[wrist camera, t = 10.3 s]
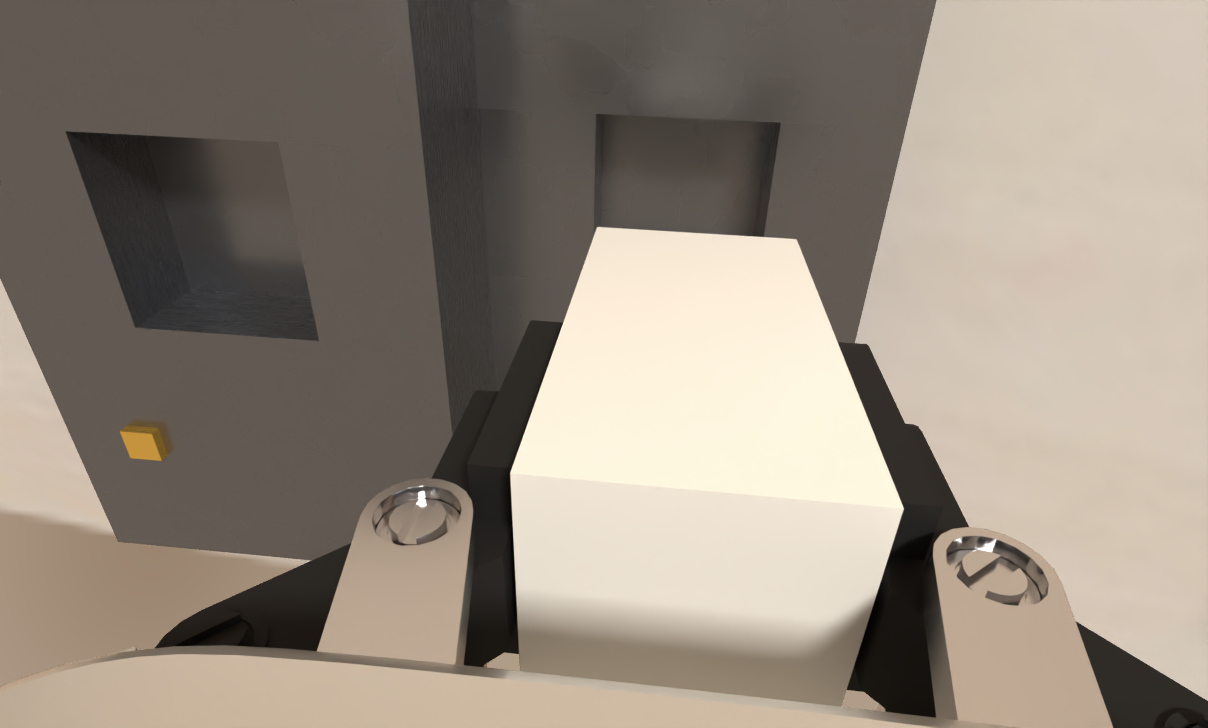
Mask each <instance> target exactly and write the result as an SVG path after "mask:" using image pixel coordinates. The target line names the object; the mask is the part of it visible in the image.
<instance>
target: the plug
mask: <svg viewBox="0 0 1208 728" xmlns="http://www.w3.org/2000/svg"><path fill="white" fill-rule="evenodd" d="M510 480H511V500H512V520H513V540H514V560H515V580H516V600H517V620H518V640H519V659H520V671H522V672H532V673H541V674H550V675H560V676H569V677H579V678H588V679H598V680H607V681H616V682H625V683H634V684H643V685H652V686H661V687H670V688H679V689H688V690H697V691H706V692H715V693H724V694H733V695H742V696H751V697H760V698H769V699H778V700H787V701H795V702H804V703H813V704H822V705H831V706H840V707H841V705H842V702H843V699H844V696H845V693H846V690H847V687H848V684H849V680H850V677H851V674H852V671H853V668H854V665H855V661H856V658H857V655H858V652H859V649H860V646H861V642H862V639H863V636H864V633H865V630H866V627H867V623H868V620H869V617H870V614H871V611H872V608H873V605H874V601H875V598H876V595H877V592H878V589H879V586H880V582H881V579H882V576H883V573H884V570H885V567H886V563H887V560H888V557H889V554H890V551H891V548H892V544H893V541H894V538H895V535H896V532H897V529H898V526H899V522H900V519H901V516H902V513H903V510H904V508H903V505H902V503H901V500H900V498H899V495H898V493H897V490H896V488H895V485H894V483H893V480H892V478H891V475H890V473H889V470H888V468H887V465H886V463H885V460H884V458H883V455H882V453H881V450H880V447H879V445H878V442H877V440H876V437H875V435H874V432H873V430H872V427H871V425H870V422H869V420H868V417H867V415H866V412H865V410H864V407H863V405H862V402H861V400H860V397H859V395H858V392H857V390H856V387H855V385H854V382H853V380H852V377H851V375H850V372H849V370H848V367H847V365H846V362H845V360H844V357H843V355H842V352H841V350H840V347H839V345H838V342H837V340H836V337H835V335H834V332H833V330H832V327H831V324H830V322H829V319H828V317H827V314H826V312H825V309H824V307H823V304H822V302H821V299H820V297H819V294H818V292H817V289H816V287H815V284H814V282H813V279H812V277H811V274H810V272H809V269H808V267H807V264H806V262H805V259H804V257H803V254H802V252H801V249H800V247H799V244H798V242H797V239H786V238H770V237H754V236H737V235H721V234H704V233H688V232H672V231H655V230H639V229H623V228H606V227H597V229H596V232H595V235H594V237H593V240H592V243H591V246H590V249H589V252H588V254H587V257H586V260H585V263H584V266H583V269H582V271H581V274H580V277H579V280H578V283H577V285H576V288H575V291H574V294H573V297H572V300H571V302H570V305H569V308H568V311H567V314H566V317H565V319H564V322H563V325H562V328H561V331H560V334H559V336H558V339H557V342H556V345H555V348H554V351H553V353H552V356H551V359H550V362H549V365H548V368H547V370H546V373H545V376H544V379H543V382H542V385H541V387H540V390H539V393H538V396H537V399H536V402H535V404H534V407H533V410H532V413H531V416H530V419H529V421H528V424H527V427H526V430H525V433H524V436H523V438H522V441H521V444H520V447H519V450H518V453H517V455H516V458H515V461H514V464H513V467H512V469H511V472H510Z"/></svg>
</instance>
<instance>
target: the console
mask: <svg viewBox="0 0 1208 728" xmlns="http://www.w3.org/2000/svg"><path fill="white" fill-rule="evenodd" d="M935 4H936V0H0V279H1V281H2V283H3V286H4V288H5V290H6V292H7V294H8V297H9V299H10V301H11V303H12V306H13V308H14V310H15V312H16V315H17V317H18V319H19V321H20V323H21V326H22V328H23V330H24V332H25V335H26V337H27V339H28V341H29V344H30V346H31V348H32V350H33V353H34V355H35V357H36V359H37V361H38V364H39V366H40V368H41V370H42V373H43V375H44V377H45V379H46V382H47V384H48V386H49V388H50V390H51V393H52V395H53V397H54V399H55V402H56V404H57V406H58V408H59V411H60V413H61V415H62V417H63V420H64V422H65V424H66V426H67V428H68V431H69V433H70V435H71V437H72V440H73V442H74V444H75V446H76V449H77V451H78V453H79V455H80V457H81V460H82V462H83V464H84V466H85V469H86V471H87V473H88V475H89V478H90V480H91V482H92V484H93V487H94V489H95V491H96V493H97V495H98V498H99V500H100V502H101V504H102V507H103V509H104V511H105V513H106V516H107V518H108V520H109V522H110V524H111V527H112V529H113V531H114V533H115V536H116V538H117V540H118V542H126V543H136V544H147V545H157V546H167V547H178V548H188V549H199V550H209V551H220V552H230V553H241V554H251V555H262V556H272V557H283V558H293V559H304V560H314V559H317V558H319V557H321V556H323V555H325V554H328V553H330V552H332V551H334V550H337V549H339V548H341V547H343V546H345V545H348V544H350V543H352V540H353V537H354V533H355V530H356V527H357V524H358V521H359V518H360V515H361V513H362V512H363V510H364V508H365V506H366V504H367V503H368V502H369V501H370V500H372V499H373V498H374V497H375V496H376V495H377V494H378V493H380V492H382V491H383V490H385V489H387V488H389V487H390V486H392V485H395V484H398V483H401V482H405V481H408V480H415V479H422V478H430V479H431V478H432V476H433V474H434V472H435V470H436V468H437V466H438V464H439V462H440V460H441V458H442V456H443V454H444V452H445V450H446V448H447V446H448V444H449V442H450V440H451V438H452V436H453V434H454V432H455V430H456V428H457V426H458V424H459V422H460V420H461V418H462V416H463V414H464V412H465V410H466V408H467V406H468V404H469V402H470V400H471V398H472V396H473V394H474V393H475V391H477V390H489V391H499V390H500V388H501V386H502V384H503V381H504V379H505V377H506V375H507V372H508V370H509V368H510V365H511V363H512V361H513V359H514V356H515V354H516V352H517V350H518V347H519V345H520V343H521V341H522V338H523V336H524V334H525V331H526V329H527V327H528V325H529V322H530V321H531V320H536V321H550V322H564V319H565V317H566V314H567V311H568V308H569V305H570V302H571V300H572V297H573V294H574V291H575V288H576V285H577V283H578V280H579V277H580V274H581V271H582V269H583V266H584V263H585V260H586V257H587V254H588V252H589V249H590V246H591V243H592V240H593V237H594V235H595V232H596V229H597V227H606V228H623V229H639V230H655V231H672V232H688V233H704V234H721V235H737V236H754V237H770V238H786V239H797V242H798V244H799V247H800V249H801V252H802V254H803V257H804V259H805V262H806V264H807V267H808V269H809V272H810V274H811V277H812V279H813V282H814V284H815V287H816V289H817V292H818V294H819V297H820V299H821V302H822V304H823V307H824V309H825V312H826V314H827V317H828V319H829V322H830V324H831V327H832V330H833V332H834V335H835V337H836V340H837V342H843V343H855V339H856V335H857V331H858V327H859V323H860V319H861V314H862V310H863V306H864V302H865V298H866V293H867V289H868V285H869V281H870V277H871V272H872V268H873V264H874V260H875V256H876V251H877V247H878V243H879V239H880V235H881V230H882V226H883V222H884V218H885V214H886V209H887V205H888V201H889V197H890V193H891V188H892V184H893V180H894V176H895V172H896V167H897V163H898V159H899V155H900V151H901V147H902V142H903V138H904V134H905V130H906V126H907V121H908V117H909V113H910V109H911V105H912V100H913V96H914V92H915V88H916V84H917V79H918V75H919V71H920V67H921V63H922V58H923V54H924V50H925V46H926V42H927V37H928V33H929V29H930V25H931V21H932V16H933V12H934V8H935Z"/></svg>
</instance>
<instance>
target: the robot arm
mask: <svg viewBox="0 0 1208 728" xmlns="http://www.w3.org/2000/svg"><path fill="white" fill-rule="evenodd" d="M562 325H563V322H550V321H536V320H531V321H530V322H529V325H528V327H527V329H526V331H525V334H524V336H523V338H522V341H521V343H520V345H519V347H518V350H517V352H516V354H515V356H514V359H513V361H512V363H511V365H510V368H509V370H508V372H507V375H506V377H505V379H504V381H503V384H502V386H501V388H500V390H499V391H489V390H477V391H475V393H474V394H473V396H472V398H471V400H470V402H469V404H468V406H467V408H466V410H465V412H464V414H463V416H462V418H461V420H460V422H459V424H458V426H457V428H456V430H455V432H454V434H453V436H452V438H451V440H450V442H449V444H448V446H447V448H446V450H445V452H444V454H443V456H442V458H441V460H440V462H439V464H438V466H437V468H436V470H435V472H434V474H433V476H432V478H431V479H430V478H422V479H415V480H408V481H405V482H401V483H398V484H395V485H392V486H390V487H389V488H387V489H385V490H383V491H382V492H380V493H378V494H377V495H376V496H375V497H374V498H373V499H372V500H370V501H369V502H368V503H367V504H366V506H365V508H364V510H363V512H362V513H361V515H360V518H359V521H358V524H357V527H356V530H355V533H354V537H353V540H352V543H350V544H348V545H345V546H343V547H341V548H339V549H337V550H334V551H332V552H330V553H328V554H325V555H323V556H321V557H319V558H317V559H314V560H312V561H310V562H308V563H305V564H303V565H301V566H299V567H297V568H294V569H292V570H290V571H288V572H286V573H283V574H281V575H279V576H277V577H274V578H272V579H270V580H268V581H266V582H263V583H261V584H259V585H257V586H255V587H252V588H250V589H248V590H246V591H243V592H241V593H239V594H237V595H235V596H232V597H230V598H228V599H226V600H223V601H221V602H219V603H217V604H214V605H212V606H210V607H208V608H206V609H203V610H201V611H199V612H198V613H196V614H194V615H192V616H191V617H189V618H187V619H185V620H183V621H182V622H180V623H179V624H178V625H177V626H176V627H174V628H173V629H172V630H171V631H170V632H168V633H167V634H166V635H165V636H164V637H163V638H162V640H161V641H160V642H159V644H158V645H157V646H156V647H155V649H146V650H137V648H136V647H132V648H129V649H126V650H123V651H120V652H117V653H114V654H110V655H105V656H101V657H96V658H91V659H86V660H82V661H77V662H72V663H68V664H63V665H60V666H57V667H54V668H50V669H47V670H43V671H40V672H37V673H34V674H31V675H28V676H25V677H23V678H20V679H17V680H14V681H12V682H9V683H6V684H4V685H2V686H0V728H1208V701H1207V700H1205V699H1203V698H1202V697H1200V696H1198V695H1197V694H1195V693H1193V692H1192V691H1190V690H1188V689H1187V688H1185V687H1184V686H1182V685H1180V684H1179V683H1177V682H1175V681H1174V680H1172V679H1170V678H1169V677H1167V676H1165V675H1164V674H1162V673H1160V672H1159V671H1157V670H1155V669H1154V668H1152V667H1150V666H1149V665H1147V664H1145V663H1144V662H1142V661H1140V660H1139V659H1137V658H1135V657H1134V656H1132V655H1131V654H1129V653H1127V652H1126V651H1124V650H1122V649H1121V648H1119V647H1117V646H1116V645H1114V644H1112V643H1111V642H1109V641H1107V640H1106V639H1104V638H1102V637H1101V636H1099V635H1097V634H1096V633H1094V632H1092V631H1091V630H1089V629H1087V628H1086V627H1084V626H1082V625H1081V624H1079V623H1078V622H1076V621H1075V619H1074V616H1073V613H1072V610H1071V607H1070V604H1069V602H1068V599H1067V596H1066V593H1065V590H1064V588H1063V585H1062V582H1061V581H1060V579H1059V577H1058V575H1057V573H1056V572H1055V570H1054V568H1053V567H1052V566H1051V565H1050V564H1049V563H1048V562H1047V561H1046V560H1045V559H1044V558H1043V557H1042V556H1041V555H1039V554H1038V553H1037V552H1035V551H1034V550H1032V549H1031V548H1029V547H1028V546H1027V545H1025V544H1024V543H1021V542H1019V541H1017V540H1015V539H1013V538H1011V537H1009V536H1007V535H1004V534H1001V533H998V532H994V531H991V530H987V529H981V528H972V527H969V526H968V524H967V522H966V520H965V518H964V516H963V514H962V512H961V510H960V508H959V506H958V504H957V502H956V500H955V498H954V496H953V494H952V492H951V490H950V488H949V486H948V483H947V481H946V479H945V477H944V475H943V473H942V471H941V469H940V467H939V465H938V463H937V461H936V459H935V457H934V455H933V453H932V451H931V449H930V447H929V445H928V443H927V441H926V439H925V437H924V435H923V433H922V431H921V430H920V429H919V427H918V426H916V425H913V424H905V423H904V421H903V418H902V416H901V414H900V412H899V410H898V408H897V406H896V403H895V401H894V399H893V397H892V395H891V393H890V391H889V388H888V386H887V384H886V382H885V380H884V378H883V376H882V374H881V371H880V369H879V367H878V365H877V363H876V361H875V359H874V356H873V354H872V352H871V350H870V348H869V346H868V345H867V344H857V343H843V342H838V345H839V347H840V350H841V352H842V355H843V357H844V360H845V362H846V365H847V367H848V370H849V372H850V375H851V377H852V380H853V382H854V385H855V387H856V390H857V392H858V395H859V397H860V400H861V402H862V405H863V407H864V410H865V412H866V415H867V417H868V420H869V422H870V425H871V427H872V430H873V432H874V435H875V437H876V440H877V442H878V445H879V447H880V450H881V453H882V455H883V458H884V460H885V463H886V465H887V468H888V470H889V473H890V475H891V478H892V480H893V483H894V485H895V488H896V490H897V493H898V495H899V498H900V500H901V503H902V505H903V508H904V510H903V513H902V516H901V519H900V522H899V526H898V529H897V532H896V535H895V538H894V541H893V544H892V548H891V551H890V554H889V557H888V560H887V563H886V567H885V570H884V573H883V576H882V579H881V582H880V586H879V589H878V592H877V595H876V598H875V601H874V605H873V608H872V611H871V614H870V617H869V620H868V623H867V627H866V630H865V633H864V636H863V639H862V642H861V646H860V649H859V652H858V655H857V658H856V661H855V665H854V668H853V671H852V674H851V677H850V680H849V684H848V687H847V690H854V691H862V692H865V693H866V694H868V695H869V696H870V697H871V698H873V699H874V700H875V701H876V702H877V703H876V710H875V711H874V710H866V709H857V708H849V707H840V706H831V705H822V704H813V703H804V702H795V701H787V700H778V699H769V698H760V697H751V696H742V695H733V694H724V693H715V692H706V691H697V690H688V689H679V688H670V687H661V686H652V685H643V684H634V683H625V682H616V681H607V680H598V679H588V678H579V677H569V676H560V675H550V674H541V673H532V672H522V671H512V670H503V669H494V668H487V662H489V661H491V660H492V659H494V658H496V657H497V656H499V655H501V654H502V653H504V652H506V653H515V654H519V640H518V620H517V600H516V580H515V560H514V540H513V520H512V500H511V480H510V472H511V469H512V467H513V464H514V461H515V458H516V455H517V453H518V450H519V447H520V444H521V441H522V438H523V436H524V433H525V430H526V427H527V424H528V421H529V419H530V416H531V413H532V410H533V407H534V404H535V402H536V399H537V396H538V393H539V390H540V387H541V385H542V382H543V379H544V376H545V373H546V370H547V368H548V365H549V362H550V359H551V356H552V353H553V351H554V348H555V345H556V342H557V339H558V336H559V334H560V331H561V328H562Z"/></svg>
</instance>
